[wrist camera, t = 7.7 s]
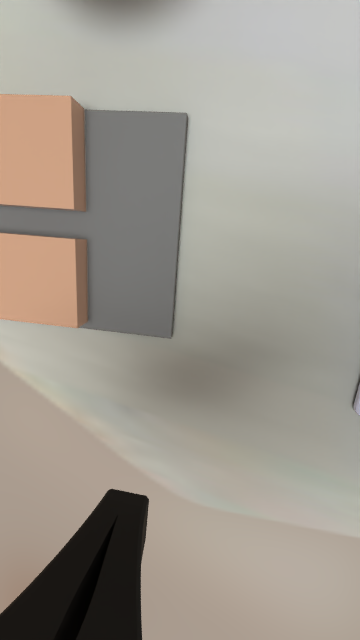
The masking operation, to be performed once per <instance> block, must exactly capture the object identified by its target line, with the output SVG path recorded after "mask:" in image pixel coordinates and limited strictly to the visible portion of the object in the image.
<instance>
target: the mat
mask: <svg viewBox="0 0 360 640" xmlns="http://www.w3.org/2000/svg"><path fill="white" fill-rule="evenodd" d="M187 122H188V116H187V113H175V112H142V111H109V110H85V148H86V212H80V211H66V210H52V209H38V208H24V207H10V206H0V232H4V233H16V234H28V235H41V236H53V237H65V238H77V239H87V257H88V322H87V323H85V324H83V325H82V326H80V327H79V328H87V329H95V330H103V331H112V332H120V333H129V334H137V335H146V336H154V337H163V338H171V337H172V331H173V317H174V303H175V289H176V275H177V261H178V247H179V233H180V219H181V206H182V192H183V178H184V164H185V150H186V136H187Z"/></svg>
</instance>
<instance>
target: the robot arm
mask: <svg viewBox="0 0 360 640" xmlns="http://www.w3.org/2000/svg"><path fill="white" fill-rule="evenodd" d="M353 408H354V410H355V412H356V413H357V414H358V415H360V384H359V388H358V391H357V395H356V398H355V402H354V406H353ZM148 504H149V499H148V498H147V496H144V495H139V494H134V493H129V492H124V491H119V490H114V489H110V490H108V491H107V493H106V494H105V496H104V497H103V499H102V500H101V501H100V503H99V504H98V505H97V507H96V508H95V509H94V511H93V512H92V513H91V515H90V516H89V517H88V518H87V520H86V521H85V522H84V523H83V525H82V526H81V527H80V528H79V530H78V531H77V532H76V533H75V534H74V536H73V537H72V538H71V539H70V540H69V542H68V543H67V544H66V545H65V546H64V548H63V549H62V550H61V551H60V552H59V553H58V554H57V555H56V557H55V558H54V559H53V560H52V561H51V562H50V563H49V564H48V565H47V566H46V567H45V569H44V570H43V571H42V572H41V573H40V574H39V575H38V576H37V577H36V578H35V580H34V581H33V582H32V583H31V584H30V585H29V586H28V587H27V588H26V589H25V590H24V591H23V592H22V593H21V594H20V595H19V596H18V597H17V598H16V599H15V600H14V601H13V602H12V603H11V604H10V605H9V606H8V607H7V608H6V609H5V610H4V611H3V612H2V613H1V614H0V640H142V628H141V591H140V590H141V589H140V588H141V578H140V577H141V560H142V554H143V549H144V544H145V538H146V526H147V516H148Z"/></svg>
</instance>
